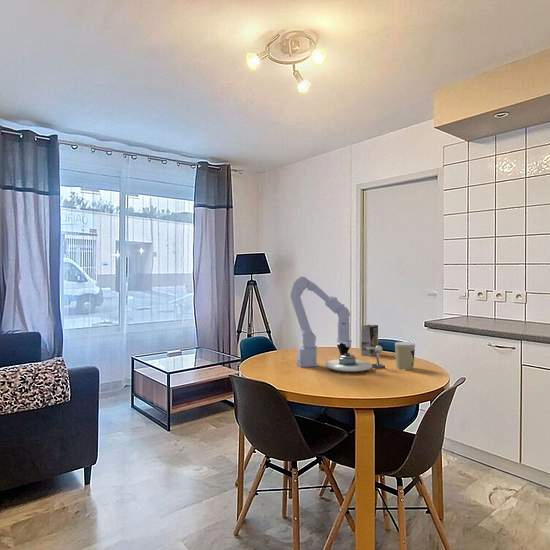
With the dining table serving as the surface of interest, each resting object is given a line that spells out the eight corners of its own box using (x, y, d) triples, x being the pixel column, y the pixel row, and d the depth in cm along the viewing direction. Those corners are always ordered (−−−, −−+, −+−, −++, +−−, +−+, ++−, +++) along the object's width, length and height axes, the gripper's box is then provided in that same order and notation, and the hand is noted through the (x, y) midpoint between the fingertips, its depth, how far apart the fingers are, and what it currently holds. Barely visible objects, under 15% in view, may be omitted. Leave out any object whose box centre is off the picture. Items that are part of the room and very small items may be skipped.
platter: (334, 372, 190) (334, 370, 190) (319, 361, 211) (319, 360, 211) (380, 369, 194) (380, 368, 194) (361, 359, 215) (361, 358, 215)
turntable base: (336, 374, 192) (336, 371, 192) (324, 365, 210) (324, 362, 210) (374, 372, 195) (374, 369, 195) (359, 363, 213) (359, 360, 213)
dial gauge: (368, 369, 202) (368, 346, 202) (364, 366, 207) (364, 344, 207) (385, 368, 203) (385, 345, 203) (380, 366, 208) (380, 344, 208)
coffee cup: (416, 370, 198) (416, 345, 198) (395, 370, 200) (395, 344, 200) (413, 366, 207) (413, 341, 207) (394, 365, 209) (394, 341, 209)
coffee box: (371, 356, 231) (371, 326, 231) (360, 355, 235) (360, 326, 235) (378, 353, 238) (378, 325, 238) (367, 352, 242) (367, 324, 242)
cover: (342, 365, 199) (342, 355, 199) (336, 362, 207) (336, 352, 207) (358, 364, 201) (358, 354, 201) (352, 361, 209) (352, 351, 209)
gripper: (356, 333, 202) (356, 361, 203) (346, 329, 217) (346, 355, 217) (342, 334, 201) (342, 362, 201) (332, 329, 215) (332, 356, 216)
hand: (343, 359), depth 209 cm, fingers closed
